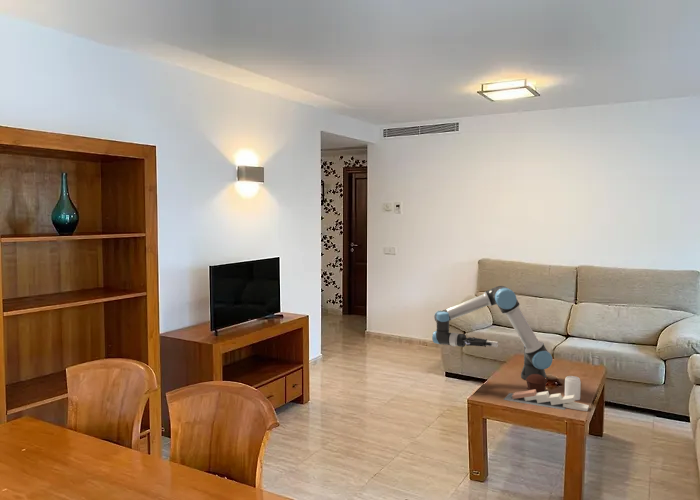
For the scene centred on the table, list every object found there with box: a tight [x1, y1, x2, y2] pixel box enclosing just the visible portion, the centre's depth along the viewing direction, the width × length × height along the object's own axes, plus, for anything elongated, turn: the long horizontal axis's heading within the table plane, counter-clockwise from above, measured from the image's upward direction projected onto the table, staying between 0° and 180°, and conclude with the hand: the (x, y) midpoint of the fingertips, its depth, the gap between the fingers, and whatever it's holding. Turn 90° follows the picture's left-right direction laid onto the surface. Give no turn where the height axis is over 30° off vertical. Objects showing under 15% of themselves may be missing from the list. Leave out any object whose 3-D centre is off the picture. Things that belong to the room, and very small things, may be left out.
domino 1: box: [512, 389, 537, 399], centre depth 303 cm, size 2×6×12 cm
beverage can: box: [564, 375, 582, 401], centre depth 305 cm, size 8×8×12 cm
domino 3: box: [536, 392, 563, 403], centre depth 297 cm, size 2×6×12 cm
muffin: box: [525, 374, 548, 393], centre depth 317 cm, size 12×11×10 cm
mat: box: [503, 392, 567, 411], centre depth 300 cm, size 13×32×1 cm, turn 60°
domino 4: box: [550, 395, 576, 405], centre depth 293 cm, size 2×6×12 cm
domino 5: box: [563, 401, 590, 412], centre depth 290 cm, size 2×6×12 cm
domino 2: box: [524, 390, 550, 401], centre depth 300 cm, size 2×6×12 cm
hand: (497, 344), depth 315 cm, fingers closed
